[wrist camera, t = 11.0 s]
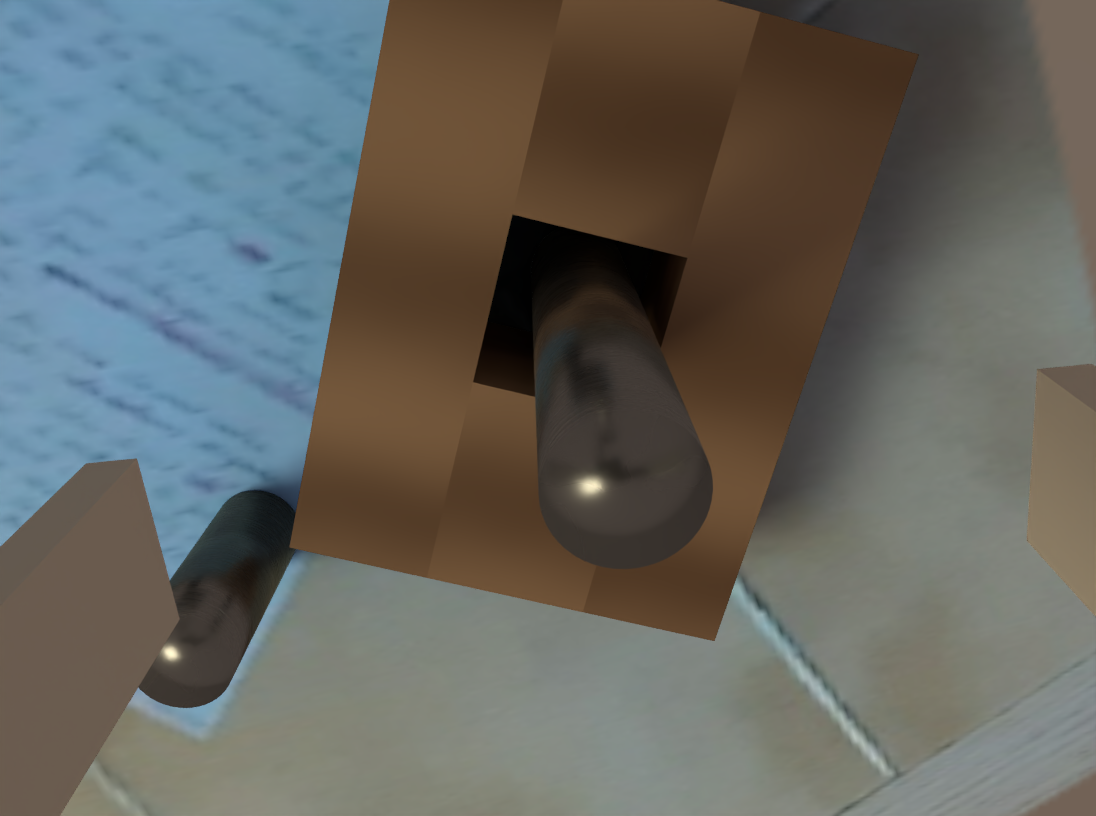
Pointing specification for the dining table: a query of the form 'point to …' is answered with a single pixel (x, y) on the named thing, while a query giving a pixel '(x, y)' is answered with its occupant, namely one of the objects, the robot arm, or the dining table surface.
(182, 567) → the short pin
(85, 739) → the robot arm
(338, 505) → the hole block
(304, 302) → the dining table surface
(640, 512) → the long pin
